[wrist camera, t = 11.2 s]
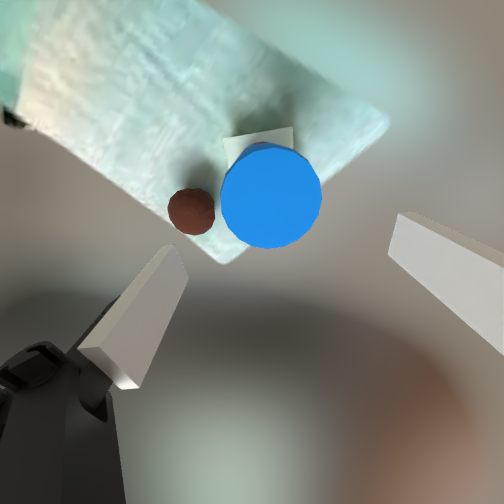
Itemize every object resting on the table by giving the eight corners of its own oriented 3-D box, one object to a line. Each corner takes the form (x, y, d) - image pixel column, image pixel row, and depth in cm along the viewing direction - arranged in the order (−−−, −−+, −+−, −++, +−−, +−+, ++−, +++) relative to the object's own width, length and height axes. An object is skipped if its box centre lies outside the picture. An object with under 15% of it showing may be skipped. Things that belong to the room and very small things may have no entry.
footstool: (226, 138, 43) (222, 138, 38) (287, 127, 42) (292, 126, 37) (238, 199, 50) (236, 206, 45) (290, 191, 49) (295, 197, 44)
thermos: (228, 178, 42) (201, 221, 20) (253, 129, 37) (252, 117, 16) (268, 203, 45) (282, 263, 23) (296, 160, 40) (346, 187, 18)
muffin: (184, 174, 47) (169, 182, 39) (225, 194, 50) (219, 206, 41) (172, 215, 53) (157, 230, 44) (210, 231, 55) (202, 248, 47)
